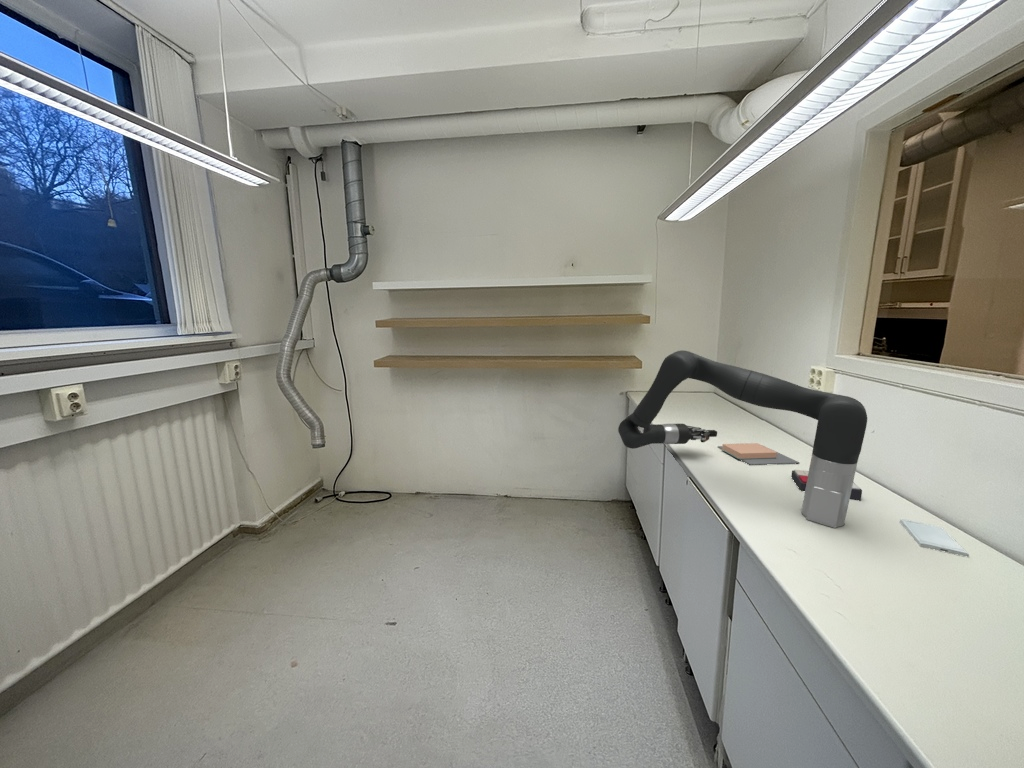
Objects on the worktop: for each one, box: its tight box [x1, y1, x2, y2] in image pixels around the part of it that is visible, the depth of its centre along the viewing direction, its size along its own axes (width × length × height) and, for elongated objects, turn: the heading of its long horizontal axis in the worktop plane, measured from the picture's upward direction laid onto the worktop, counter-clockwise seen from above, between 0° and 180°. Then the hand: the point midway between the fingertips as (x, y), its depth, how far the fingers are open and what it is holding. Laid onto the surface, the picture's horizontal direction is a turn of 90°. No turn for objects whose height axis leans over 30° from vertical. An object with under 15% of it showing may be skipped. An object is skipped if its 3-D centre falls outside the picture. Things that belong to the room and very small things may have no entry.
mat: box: [716, 444, 800, 466], centre depth 149 cm, size 20×18×1 cm
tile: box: [721, 442, 778, 461], centre depth 148 cm, size 2×10×15 cm
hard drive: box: [899, 518, 970, 558], centre depth 96 cm, size 2×8×12 cm
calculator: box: [790, 469, 863, 502], centre depth 122 cm, size 11×4×15 cm
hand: (715, 433), depth 145 cm, fingers closed
